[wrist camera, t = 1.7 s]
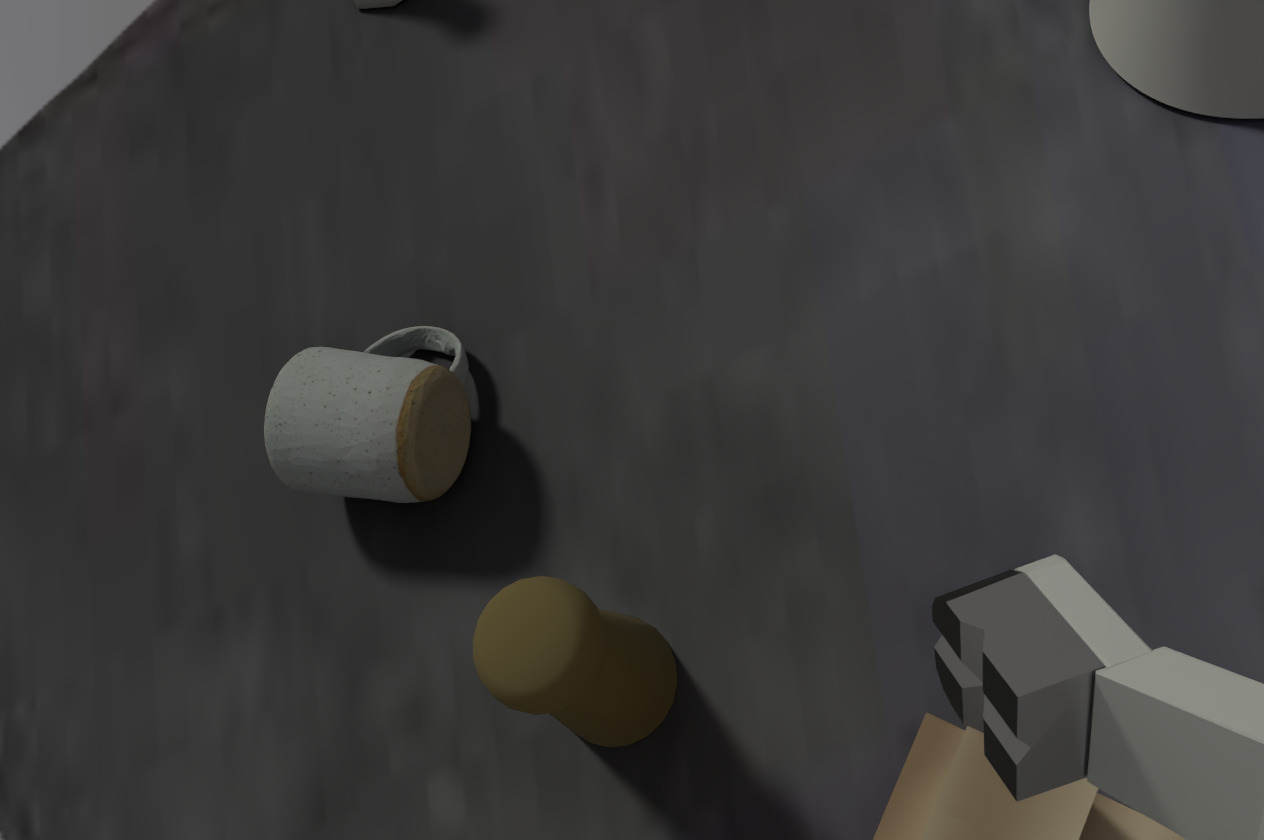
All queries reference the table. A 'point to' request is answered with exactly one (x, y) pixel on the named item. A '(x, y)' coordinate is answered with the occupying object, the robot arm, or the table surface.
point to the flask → (374, 3)
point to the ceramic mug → (371, 419)
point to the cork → (574, 661)
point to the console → (995, 799)
